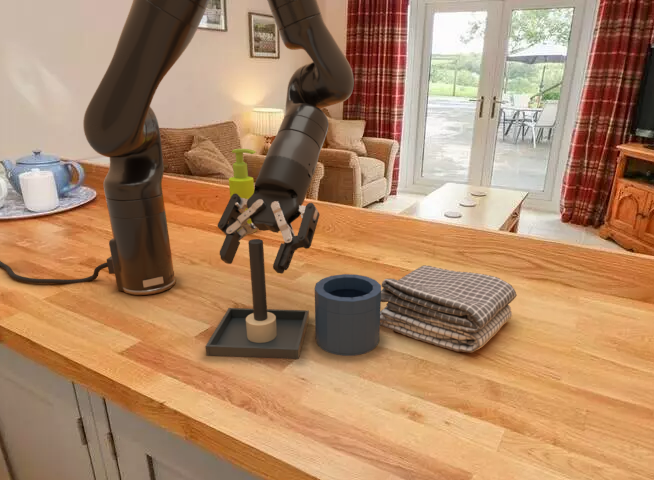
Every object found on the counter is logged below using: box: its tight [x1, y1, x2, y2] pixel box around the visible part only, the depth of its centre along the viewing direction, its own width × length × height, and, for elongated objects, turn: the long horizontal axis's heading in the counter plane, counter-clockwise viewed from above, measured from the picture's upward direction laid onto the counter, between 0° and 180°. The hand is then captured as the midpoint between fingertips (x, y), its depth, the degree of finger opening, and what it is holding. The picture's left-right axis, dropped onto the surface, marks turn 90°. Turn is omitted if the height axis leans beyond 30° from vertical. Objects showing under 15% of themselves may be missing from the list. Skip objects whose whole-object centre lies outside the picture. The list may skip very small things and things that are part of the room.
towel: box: [380, 265, 517, 353], centre depth 78 cm, size 15×18×8 cm
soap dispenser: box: [228, 148, 258, 233], centre depth 119 cm, size 6×7×20 cm
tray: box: [205, 307, 310, 360], centre depth 74 cm, size 13×12×2 cm
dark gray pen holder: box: [314, 273, 382, 357], centre depth 72 cm, size 9×9×9 cm
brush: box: [246, 238, 277, 343], centre depth 71 cm, size 4×4×15 cm
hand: (251, 266), depth 68 cm, fingers open, 8 cm apart
